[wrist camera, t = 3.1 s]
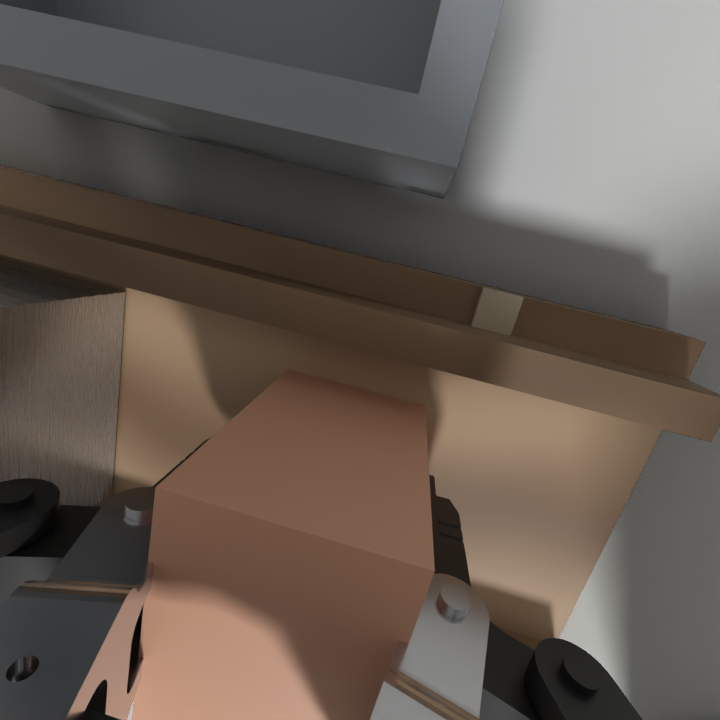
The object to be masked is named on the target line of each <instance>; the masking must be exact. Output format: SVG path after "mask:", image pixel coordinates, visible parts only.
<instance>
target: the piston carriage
mask: <svg viewBox="0 0 720 720" xmlns="http://www.w3.org/2000/svg"><path fill="white" fill-rule="evenodd" d="M124 306H125V292H124V291H120V290H116V289H112V288H109V287H105V286H101V285H97V284H93V283H90V282H86V281H82V280H78V279H75V278H71V277H67V276H63V275H60V274H56V273H52V272H48V271H44V270H41V269H37V268H33V267H29V266H26V265H22V264H18V263H14V262H11V261H7V260H3V259H0V482H3V481H8V480H14V479H22V478H35V479H42V480H46V481H49V482H52V483H53V484H55V485H56V486H57V487H58V488H59V490H60V505H74V506H94V507H102V506H103V504H104V503H105V502H106V501H107V500H108V499H110V498H111V497H112V489H113V473H114V458H115V443H116V428H117V413H118V397H119V382H120V367H121V352H122V337H123V321H124Z"/></svg>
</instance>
